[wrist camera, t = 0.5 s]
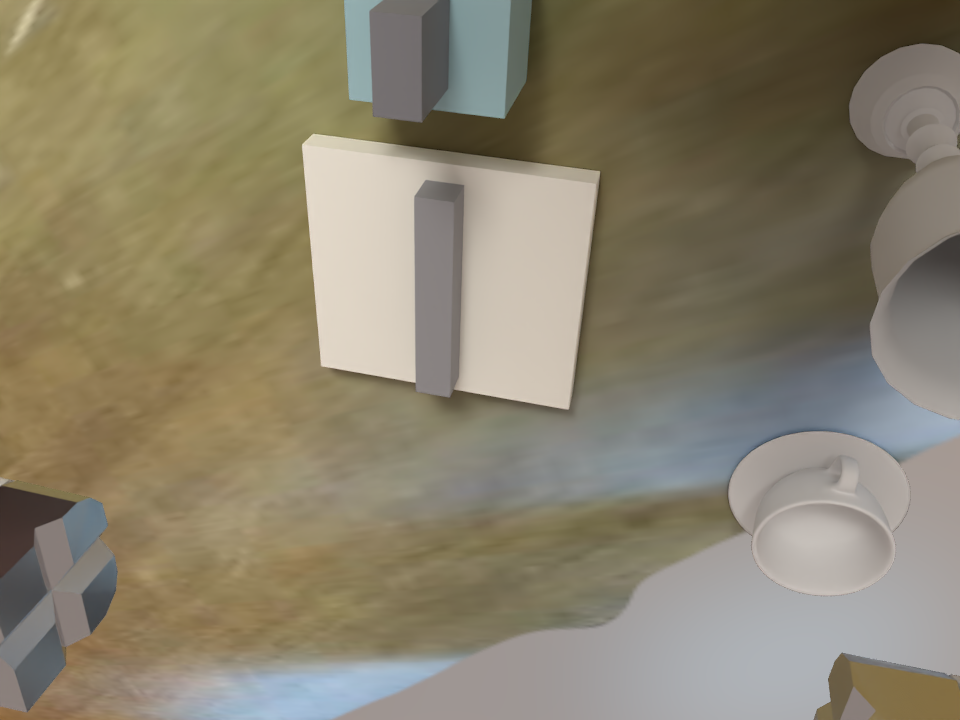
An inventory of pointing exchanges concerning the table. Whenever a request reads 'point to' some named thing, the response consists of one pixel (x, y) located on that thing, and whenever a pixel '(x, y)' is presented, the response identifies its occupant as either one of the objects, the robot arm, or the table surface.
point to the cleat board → (496, 272)
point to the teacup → (820, 510)
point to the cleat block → (437, 55)
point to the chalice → (916, 221)
